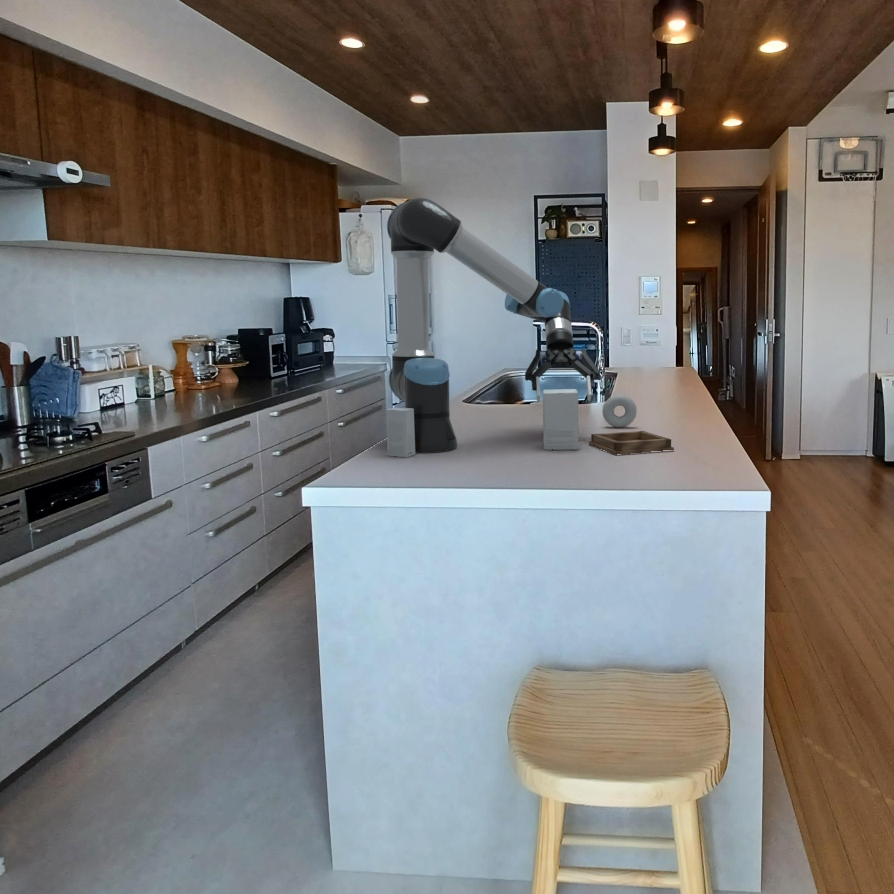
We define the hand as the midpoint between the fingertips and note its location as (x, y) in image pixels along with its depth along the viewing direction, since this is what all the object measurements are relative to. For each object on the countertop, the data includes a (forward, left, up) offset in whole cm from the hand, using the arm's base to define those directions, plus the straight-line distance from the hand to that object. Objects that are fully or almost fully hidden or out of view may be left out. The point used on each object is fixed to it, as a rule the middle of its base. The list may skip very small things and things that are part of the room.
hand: (564, 398), depth 230 cm
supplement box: (-3, -5, -12) cm, 14 cm away
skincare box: (-45, -2, -12) cm, 47 cm away
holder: (+13, -13, -12) cm, 22 cm away
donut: (+26, +20, -12) cm, 35 cm away
